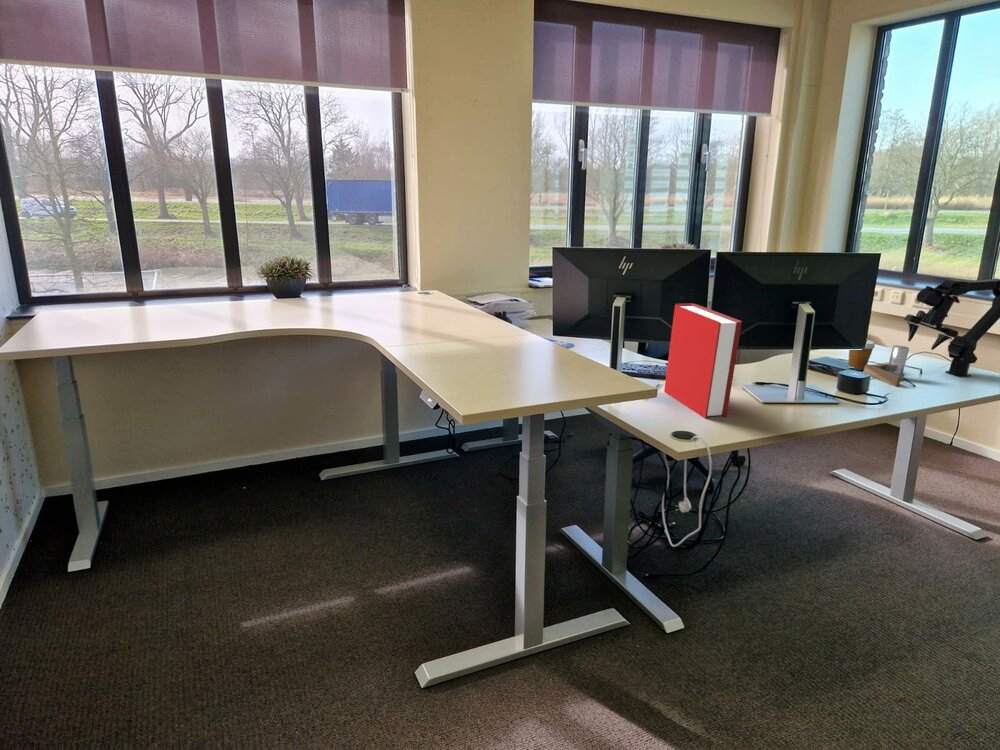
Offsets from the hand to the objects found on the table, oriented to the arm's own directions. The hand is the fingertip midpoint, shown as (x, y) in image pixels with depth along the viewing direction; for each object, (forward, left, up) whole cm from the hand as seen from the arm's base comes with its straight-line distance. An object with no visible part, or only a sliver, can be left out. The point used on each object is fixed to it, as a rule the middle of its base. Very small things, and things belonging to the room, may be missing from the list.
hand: (920, 345), depth 255 cm
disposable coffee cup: (+19, -10, -12) cm, 25 cm away
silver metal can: (+14, +3, -12) cm, 19 cm away
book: (+113, +12, -12) cm, 114 cm away
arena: (+15, +4, -12) cm, 20 cm away
